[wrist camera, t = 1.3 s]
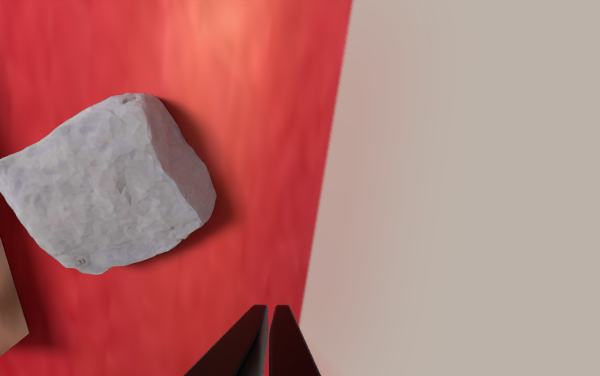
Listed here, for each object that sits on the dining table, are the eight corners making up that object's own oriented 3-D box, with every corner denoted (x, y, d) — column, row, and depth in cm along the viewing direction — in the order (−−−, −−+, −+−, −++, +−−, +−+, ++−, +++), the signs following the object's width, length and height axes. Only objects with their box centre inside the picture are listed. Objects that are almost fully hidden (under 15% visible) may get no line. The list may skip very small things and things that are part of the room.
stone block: (237, 196, 23) (153, 76, 18) (224, 232, 18) (111, 85, 14) (119, 253, 25) (21, 156, 21) (84, 297, 20) (-50, 185, 16)
